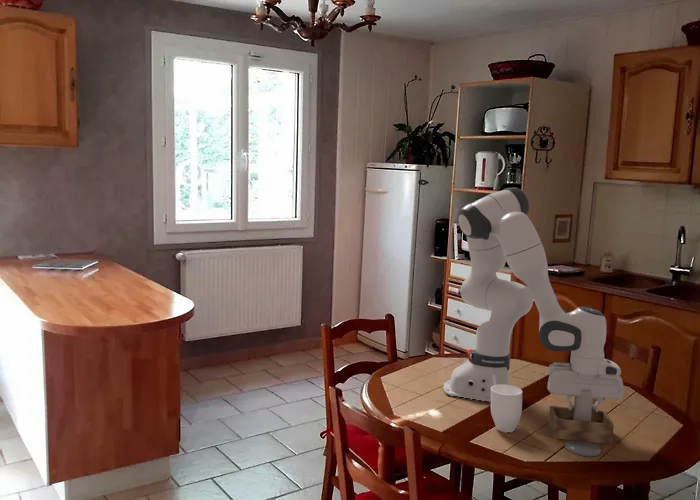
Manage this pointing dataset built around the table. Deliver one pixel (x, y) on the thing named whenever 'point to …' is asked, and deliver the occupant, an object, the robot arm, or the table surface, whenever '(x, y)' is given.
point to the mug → (506, 406)
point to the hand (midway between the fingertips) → (582, 410)
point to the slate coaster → (582, 448)
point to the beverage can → (583, 406)
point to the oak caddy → (580, 426)
